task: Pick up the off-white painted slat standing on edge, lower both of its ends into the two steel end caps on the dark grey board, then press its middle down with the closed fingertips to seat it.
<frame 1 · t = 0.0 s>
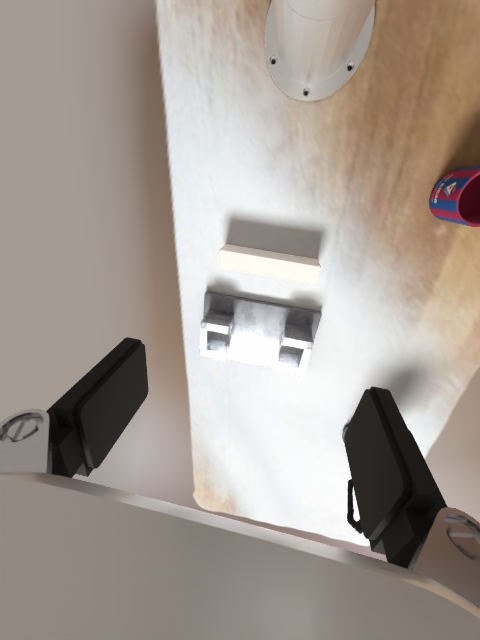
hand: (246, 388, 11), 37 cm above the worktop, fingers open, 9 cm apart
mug: (466, 198, 36), on the worktop
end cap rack: (257, 332, 52), on the worktop
slat: (269, 259, 45), on the worktop
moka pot: (361, 433, 60), on the worktop
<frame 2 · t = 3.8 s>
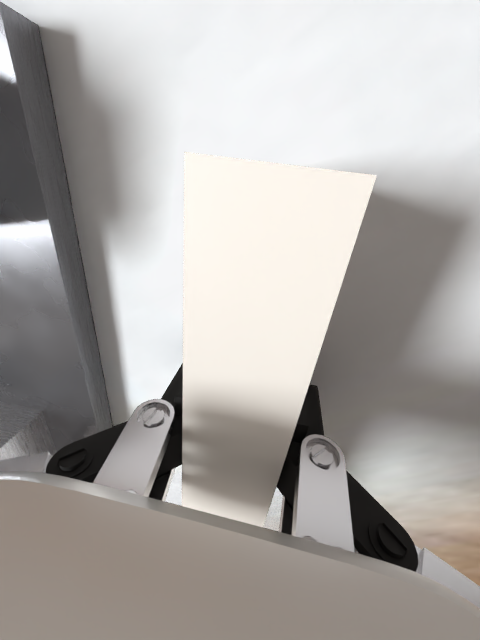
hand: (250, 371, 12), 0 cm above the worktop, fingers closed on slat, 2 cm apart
slat: (251, 367, 12), on the worktop, touching gripper
when the fingers open (4 cm above the worktop, at t = 8.7 s): slat stays where it is, resting on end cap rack.
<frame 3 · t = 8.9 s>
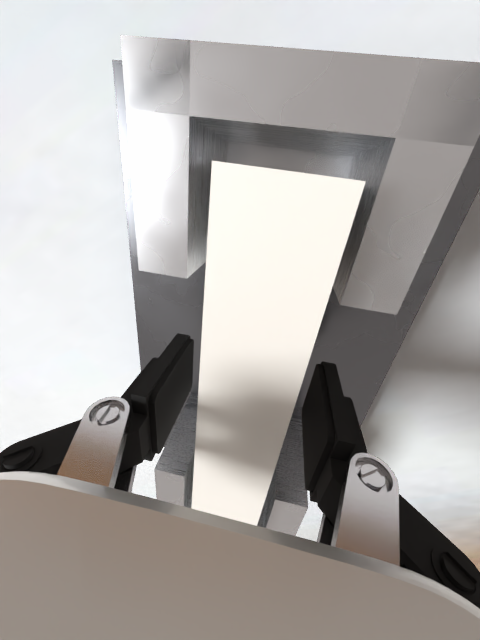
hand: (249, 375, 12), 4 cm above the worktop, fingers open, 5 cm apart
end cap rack: (258, 331, 15), on the worktop
slat: (255, 354, 13), point 2 cm above the worktop, touching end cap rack
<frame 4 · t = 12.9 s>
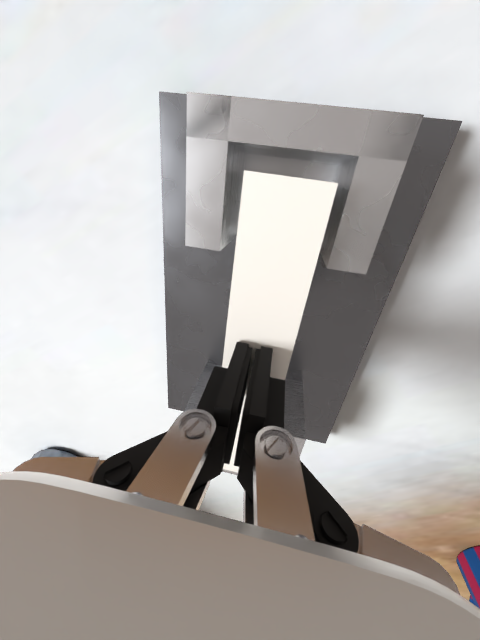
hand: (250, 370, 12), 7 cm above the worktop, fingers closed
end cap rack: (265, 306, 18), on the worktop
slat: (263, 321, 16), point 2 cm above the worktop, touching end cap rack, gripper
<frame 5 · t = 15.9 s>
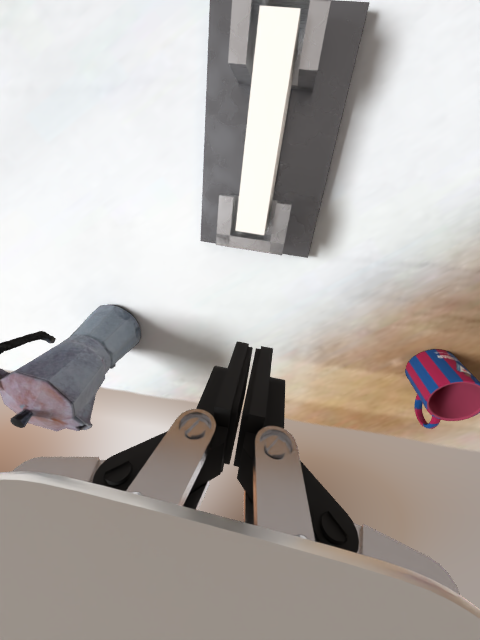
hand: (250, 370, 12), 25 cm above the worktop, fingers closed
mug: (423, 375, 39), on the worktop
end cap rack: (267, 148, 29), on the worktop
slat: (266, 146, 27), point 2 cm above the worktop, touching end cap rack
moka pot: (116, 325, 45), on the worktop
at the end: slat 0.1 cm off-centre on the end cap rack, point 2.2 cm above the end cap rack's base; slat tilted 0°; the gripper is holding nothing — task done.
